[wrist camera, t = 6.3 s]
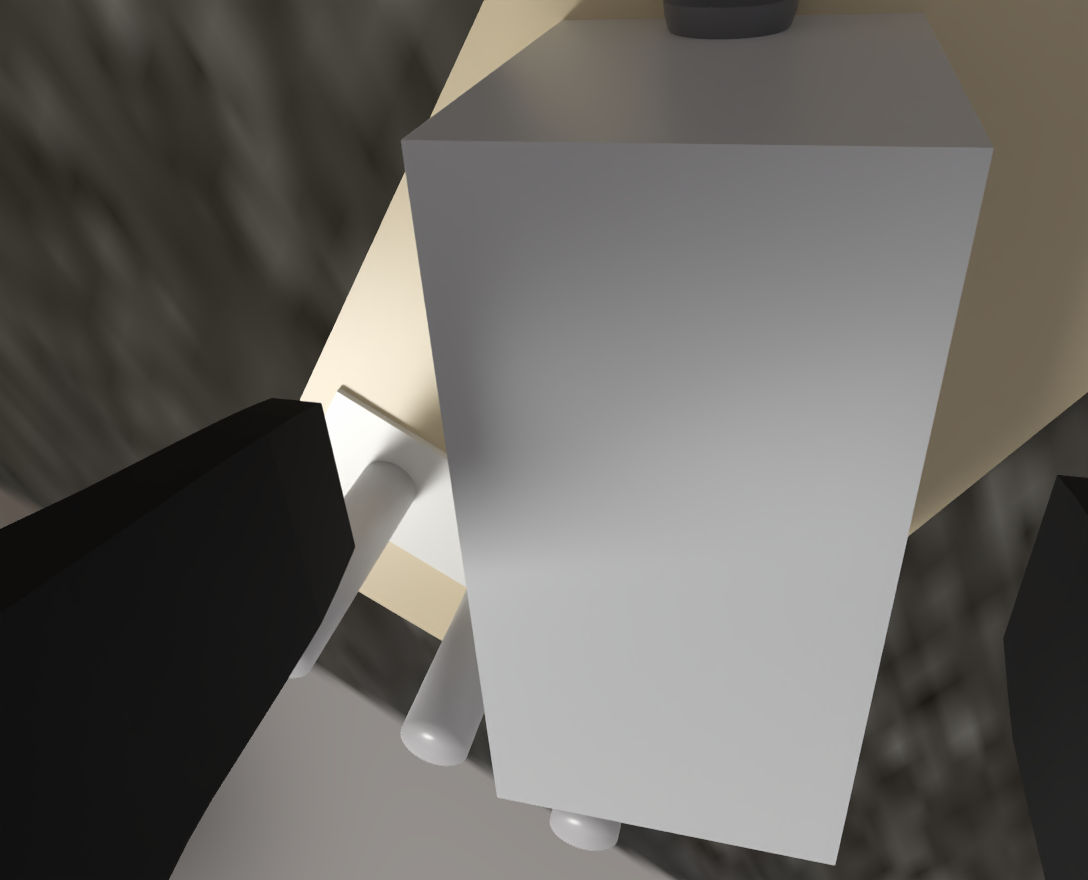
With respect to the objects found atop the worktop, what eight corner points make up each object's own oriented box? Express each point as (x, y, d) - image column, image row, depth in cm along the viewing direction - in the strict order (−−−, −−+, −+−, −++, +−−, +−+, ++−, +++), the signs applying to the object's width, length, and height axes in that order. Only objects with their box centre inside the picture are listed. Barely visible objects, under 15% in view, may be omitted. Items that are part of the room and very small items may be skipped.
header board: (1494, -4, 9) (2020, 131, 5) (643, 715, 19) (593, 956, 15) (772, -571, 8) (722, -949, 4) (269, 491, 18) (108, 684, 14)
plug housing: (1078, -935, 6) (1534, -2307, 2) (831, 575, 14) (833, 871, 10) (526, -795, 7) (148, -1570, 3) (584, 544, 15) (498, 803, 11)
